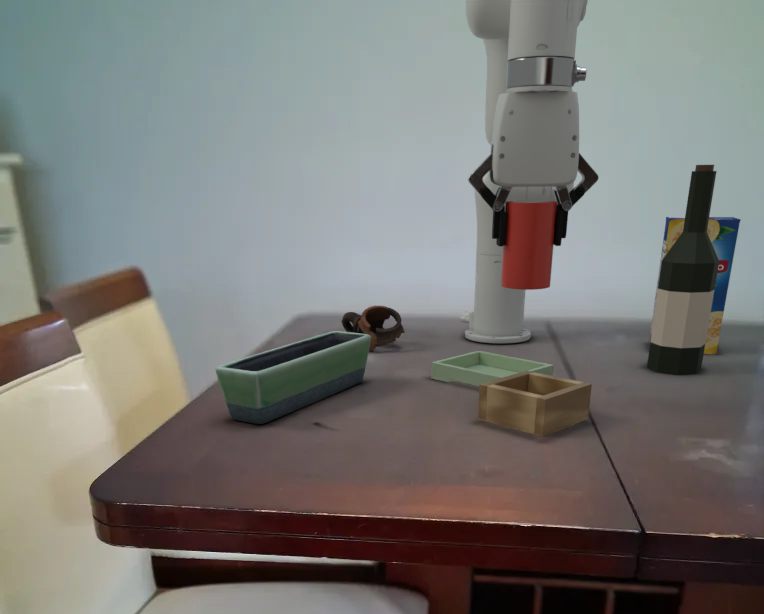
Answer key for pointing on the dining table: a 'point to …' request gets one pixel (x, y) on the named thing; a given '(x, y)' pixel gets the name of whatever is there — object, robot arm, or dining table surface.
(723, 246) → the beverage box
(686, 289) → the wine bottle
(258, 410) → the planter
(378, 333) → the pottery mug
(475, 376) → the tray
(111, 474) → the dining table surface
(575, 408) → the box
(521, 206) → the can
